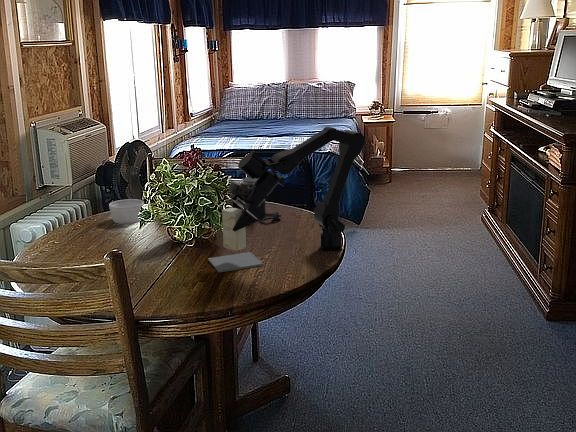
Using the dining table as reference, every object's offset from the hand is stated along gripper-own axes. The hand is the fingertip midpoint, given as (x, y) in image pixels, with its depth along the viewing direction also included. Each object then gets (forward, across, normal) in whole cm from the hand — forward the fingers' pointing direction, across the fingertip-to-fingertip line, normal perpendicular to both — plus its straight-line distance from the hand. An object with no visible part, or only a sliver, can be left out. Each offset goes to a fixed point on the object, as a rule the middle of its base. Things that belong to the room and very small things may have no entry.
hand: (229, 227), depth 191 cm
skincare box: (+4, 0, +6) cm, 7 cm away
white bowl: (+24, -64, -7) cm, 69 cm away
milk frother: (-10, -44, +28) cm, 53 cm away
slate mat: (+8, 0, +9) cm, 12 cm away
